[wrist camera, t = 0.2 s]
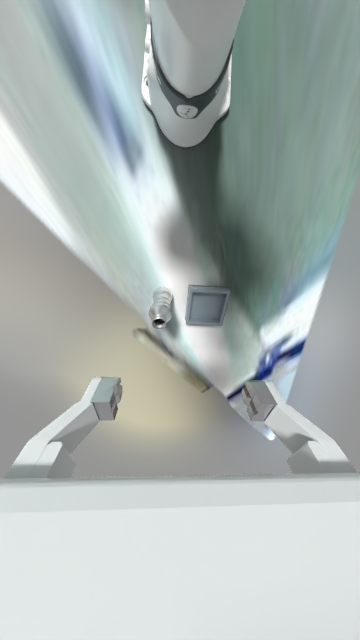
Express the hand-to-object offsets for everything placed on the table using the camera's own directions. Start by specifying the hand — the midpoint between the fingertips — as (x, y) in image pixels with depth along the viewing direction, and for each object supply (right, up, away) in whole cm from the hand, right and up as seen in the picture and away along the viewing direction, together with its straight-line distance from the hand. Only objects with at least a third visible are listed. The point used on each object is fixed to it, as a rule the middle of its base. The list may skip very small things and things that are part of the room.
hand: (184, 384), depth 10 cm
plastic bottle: (-6, +14, +47) cm, 50 cm away
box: (+9, +10, +50) cm, 52 cm away
